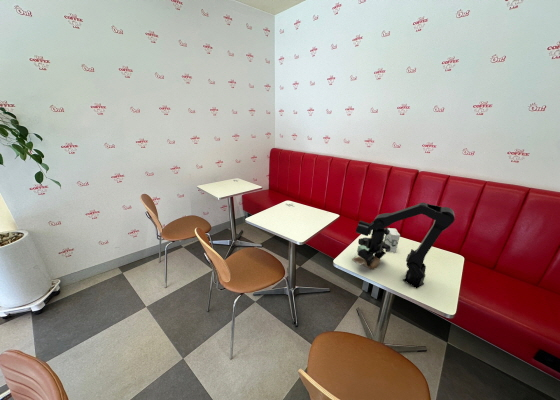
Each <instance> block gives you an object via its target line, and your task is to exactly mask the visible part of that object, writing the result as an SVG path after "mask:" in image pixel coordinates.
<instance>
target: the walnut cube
mask: <svg viewBox="0 0 560 400" xmlns="http://www.w3.org/2000/svg"><path fill="white" fill-rule="evenodd" d="M373 257H374V258H375V259H374V260H373V262H372V263H371V264H370V266H367V263H366V260H365V262H364V264H363V265H364V266H365V267H367V268H368V269H370V270H371V271H373V270H375V269H378V268H379V266H380V262H381V258H380V259H379V258H377V257H376V256H374V255H373Z"/></svg>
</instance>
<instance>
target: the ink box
mask: <svg viewBox="0 0 560 400" xmlns="http://www.w3.org/2000/svg"><path fill="white" fill-rule="evenodd" d="M387 228H388V230H389V231H390V233H389V235H387V234H385V235H384V240H383V241H384V242H385V244H387V245H389V246H390V248H391V249H390V251H389V252H388V253H396V252H397V248H398V246H399V245H398V244H399V240H400V237H401V234H400V233H399V232H398V230H397V228H390V227H387Z"/></svg>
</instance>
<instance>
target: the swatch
mask: <svg viewBox="0 0 560 400" xmlns="http://www.w3.org/2000/svg"><path fill="white" fill-rule="evenodd" d="M351 260H352V261H354V263H356V264H357V265H359V266H362V265H364V262H365V260H364V259H363V258H361V257H360V256H358V255H357V256H355V257H353V258H351Z"/></svg>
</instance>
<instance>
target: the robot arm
mask: <svg viewBox="0 0 560 400" xmlns="http://www.w3.org/2000/svg"><path fill="white" fill-rule="evenodd" d="M419 215H423V216H426V217H428V218H430V219H432V220H433V224H432V225H431V227H430V229H429V230H428V232H427V233H426V235H425V236H424V238H423V239H422V240H421V242H420V244H419V246H418V247H417V248H416V249H415V250H414V249H410V252H409V253H408V254H407V256H406V260H405V262H406V267H407V270H406V272H405V275H404V278H403V281H404V282H405V283H407V284H409V285H410V286H411V287H413V288H414V289H419V288H420V287H422V286H423V285H424V284H425V282H424V280H425V277H426V269H427V268H426V267H427V266H426V264H425V263H424V262H425V261H424V260H425V259H426V256H427V254H428V253H429V252H430V250H431V248H432V247H433V246H434V244H435V242H436V241H437V240H438V238H439V237H440V236H441V234H442V232H444V231H445V230H447V229H448V228H449V227H450V226H451V225H452V224H453V223H454V222H455V220H456V217H455V211H454V210H453V209H452V208H451V207H447V206H443V207H442V206H439V205H435V204H431V203H426V202H423V201H422V202H419V203H417V204H415V205H412V206H409V207H405V208H403V209H401V210H398V211H397V210H396V211H394V212H386V213H380V214H378V215H376V216H375V218H374V220H373V221H371V222H370V223H369V222H366V221H363V220H359V221H358V224H357V227H356V228H355V233H356V234H360V235H363V236H365V237H362V238H359V239H358V246H360V245H363V246H366V248H369V250H368V251H367V250H366V249H362V250H360V251H358V252H357V256H360V257H361V258H363V259H364V260H366V263H367V266H370V264H371V263H372V262H373V260H374V259H375V258H374V257H373V255H374V256H376V257H377V258H379V259H380V260H381V259H382V258H383V257H385V255H386V254H387V253H390V252H389V251H390V249H391V248H390V246H389V245H387V244H385V242H384V239H385V235H386V234H387V235H389V233H390V231H389V230H388V228H389V226H391V225H392V224H395V223H396V222H399V221H403V220H405V219H410V218H412V217H416V216H419ZM370 235H371V236H370ZM368 236H370V237H371V238H370V237H368ZM367 266H366V267H367Z"/></svg>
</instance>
